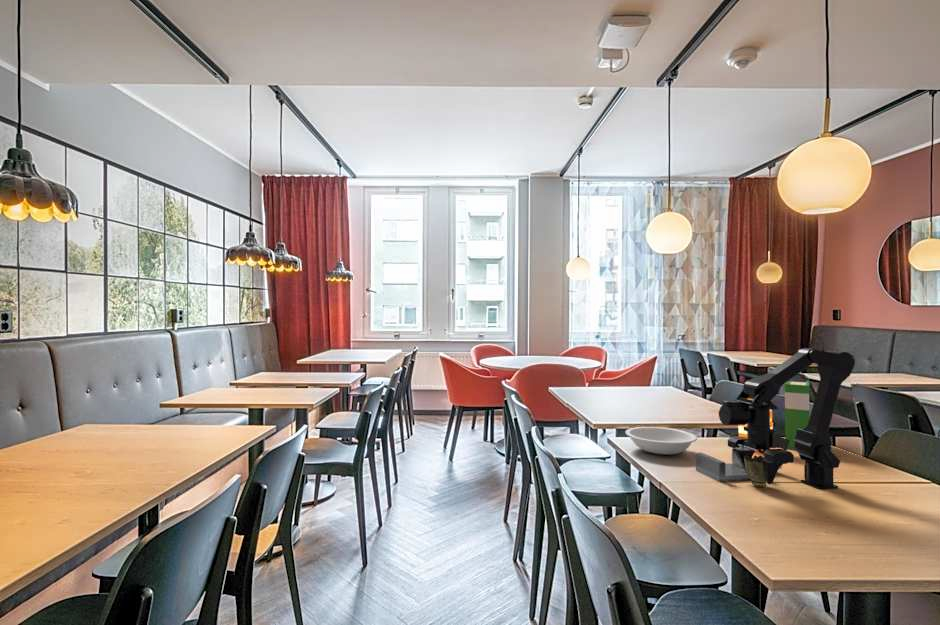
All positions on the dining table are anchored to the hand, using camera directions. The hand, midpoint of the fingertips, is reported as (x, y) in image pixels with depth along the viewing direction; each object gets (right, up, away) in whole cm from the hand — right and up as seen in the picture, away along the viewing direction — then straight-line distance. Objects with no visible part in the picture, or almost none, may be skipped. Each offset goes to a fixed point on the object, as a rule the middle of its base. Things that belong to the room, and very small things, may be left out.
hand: (759, 479), depth 137 cm
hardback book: (+43, -3, +46) cm, 63 cm away
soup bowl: (-14, -3, +36) cm, 38 cm away
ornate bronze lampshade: (0, -2, 0) cm, 2 cm away
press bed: (-3, -2, +11) cm, 11 cm away
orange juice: (+23, -3, +39) cm, 46 cm away
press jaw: (+8, -1, +13) cm, 15 cm away
